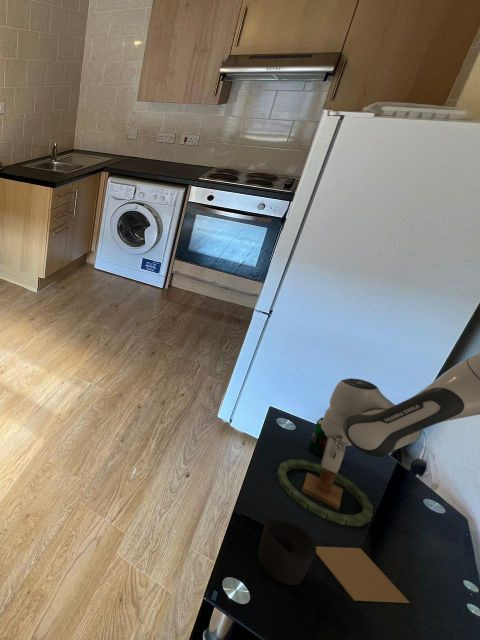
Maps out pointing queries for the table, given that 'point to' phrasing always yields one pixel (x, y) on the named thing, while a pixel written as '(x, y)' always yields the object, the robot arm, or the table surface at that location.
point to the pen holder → (285, 551)
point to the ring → (324, 513)
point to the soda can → (318, 440)
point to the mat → (359, 575)
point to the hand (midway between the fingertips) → (327, 466)
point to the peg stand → (323, 488)
